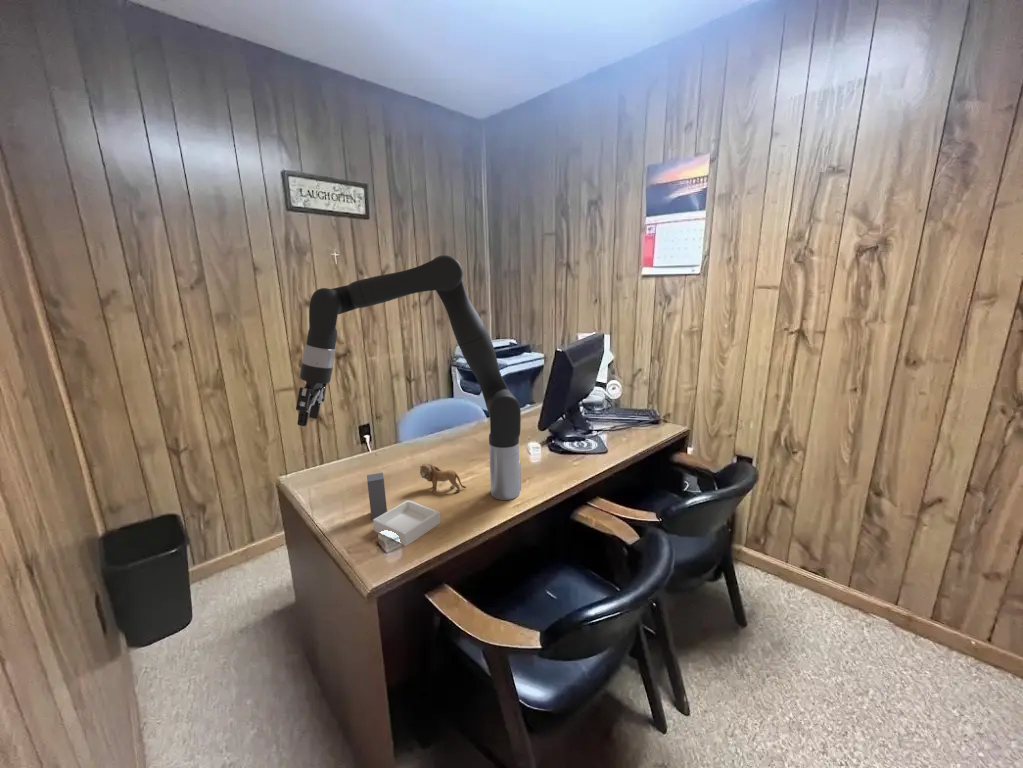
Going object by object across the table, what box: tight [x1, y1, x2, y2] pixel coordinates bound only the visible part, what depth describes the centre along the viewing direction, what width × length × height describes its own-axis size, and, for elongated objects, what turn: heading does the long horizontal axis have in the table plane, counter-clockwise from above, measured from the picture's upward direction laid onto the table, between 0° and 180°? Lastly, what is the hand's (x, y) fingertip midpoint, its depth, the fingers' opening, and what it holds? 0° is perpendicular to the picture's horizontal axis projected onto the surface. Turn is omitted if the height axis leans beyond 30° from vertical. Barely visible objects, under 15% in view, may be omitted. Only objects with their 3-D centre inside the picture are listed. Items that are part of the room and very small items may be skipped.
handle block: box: [366, 472, 388, 521], centre depth 121 cm, size 4×4×12 cm
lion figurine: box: [419, 463, 467, 493], centre depth 136 cm, size 15×5×9 cm, turn 90°
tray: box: [372, 499, 441, 547], centre depth 116 cm, size 13×13×4 cm
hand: (307, 421), depth 114 cm, fingers open, 8 cm apart
